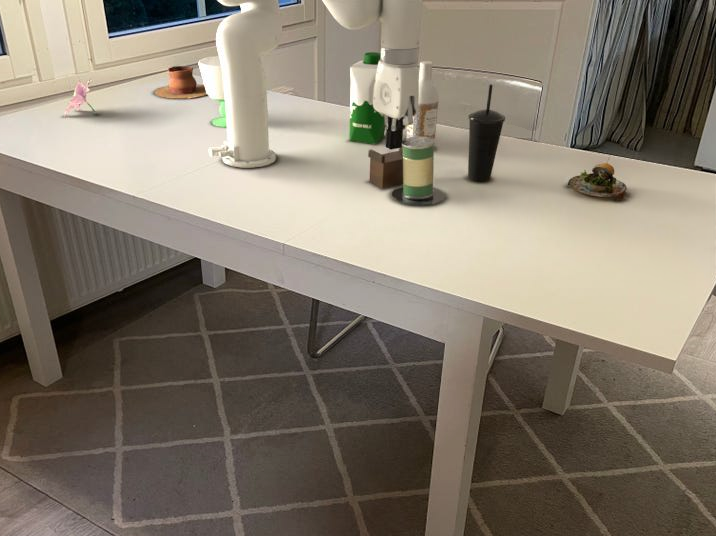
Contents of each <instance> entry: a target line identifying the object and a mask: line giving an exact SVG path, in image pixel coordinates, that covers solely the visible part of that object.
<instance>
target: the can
mask: <svg viewBox="0 0 716 536" xmlns="http://www.w3.org/2000/svg"><path fill="white" fill-rule="evenodd" d="M435 144H436V139H435V140H434V139H432V138H429V137H410V138H407V139H406V138H404V139H402V146H403V184H402V187H403V191H402V195H403V196H404V197H405V198H408V199H414V200H420V199H426V198H429V197H431V196H433V195H434V190H433V188H434V170H435V169H434V167H435V166H434V165H435V161H434V160H435V159H434V158H435V157H434V156H435V155H434V153H435V152H434V151H435V150H434V149H435Z"/></svg>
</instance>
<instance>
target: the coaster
mask: <svg viewBox="0 0 716 536" xmlns="http://www.w3.org/2000/svg"><path fill="white" fill-rule="evenodd" d="M433 190H434V195H433V196H431V197H429V198H426V199H420V200H414V199H408V198H405V197H404V196H403V195H402V191H403V186H400V187H398V188H396V189H394V190H392V191H391V198H392V199H393V200H394V201H395V202H396V203H398V204H402V205H406V206H409V207H410V206H411V207H430V206H434V205H438V204H440V203H442V202H443V201H444V200H445V194H444V193H443V192H442V191H441V190H439V189H437V188H434V187H433Z"/></svg>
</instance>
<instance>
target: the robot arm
mask: <svg viewBox="0 0 716 536" xmlns="http://www.w3.org/2000/svg"><path fill="white" fill-rule="evenodd" d="M321 1H322V2H323V4H324V6H325V7H326V9H327V11H329V13H330V14H331V16H332V17H333V19H334V20H335V21H336V22H337V23H338V24H339V25H340V26H341V27H343V28H345V29H347V30H349V31H350V30H351V31H358V30H361V29H363V28H367V27H368V26H372V25H376V24H380V23H381V30H380V31H381V33H380V52H379V53H380V61H379V62H378V66H377V71H376V77H375V85H374V95H373V107H374V109H375V110H376V111H378V112H379V114H380V115H382V116H383V117H384V120H385V148H386V149H388V150H391V151H392V150H398V149H399V148H401V147H402V141H403V140H404V139H403V136H404V130H405V129H406V127H407V125H412V124H413V116H415V115H416V113H417V109H418V97H419V66H418V63H419V53H420V52H419V50H420V38H421V37H420V36H421V25H422V12H423V11H422V9H423V0H321ZM217 2H218V3H220V4H221V5H223V6H225V7H237V6H240V10H241V11H239V12H236V13H233V14H230V15H228V16H227V17H225V18H224V19H223V20H222V21H221V22H220V24H219V25H218V27H217V30H216V35H215V43H216V49H217V53H218V56H219V57H220V62H221V67H222V73H223V83H224V94H225V107H226V121H227V127H226V133H227V134H226V135H227V140H223V144H221V146H218V147H217V146H216V147H209V148H208V154H209V157H210V158H213V157H217V156H218V157H219V158H220V159H222V161H223V163H224V164H226V165H228V166H230V167H234V168H243V169H251V168H253V169H254V168H260V167H265V166H268V165H271V164H273V163H274V162H275V161H276V160H277V154H276V152H275V151H274V150H272V149H270V139H269V138H270V137H269V115H268V112H269V111H268V91H267V79H266V72H265V69H264V67H263V63H262V59H261V56H264V55H266V54H270V53H271V52H273V51H274V50H276V49H277V48H278V47H279V45H280V43H281V41H282V38H283V21H282V15H281V9H280V3H279V0H217Z"/></svg>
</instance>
